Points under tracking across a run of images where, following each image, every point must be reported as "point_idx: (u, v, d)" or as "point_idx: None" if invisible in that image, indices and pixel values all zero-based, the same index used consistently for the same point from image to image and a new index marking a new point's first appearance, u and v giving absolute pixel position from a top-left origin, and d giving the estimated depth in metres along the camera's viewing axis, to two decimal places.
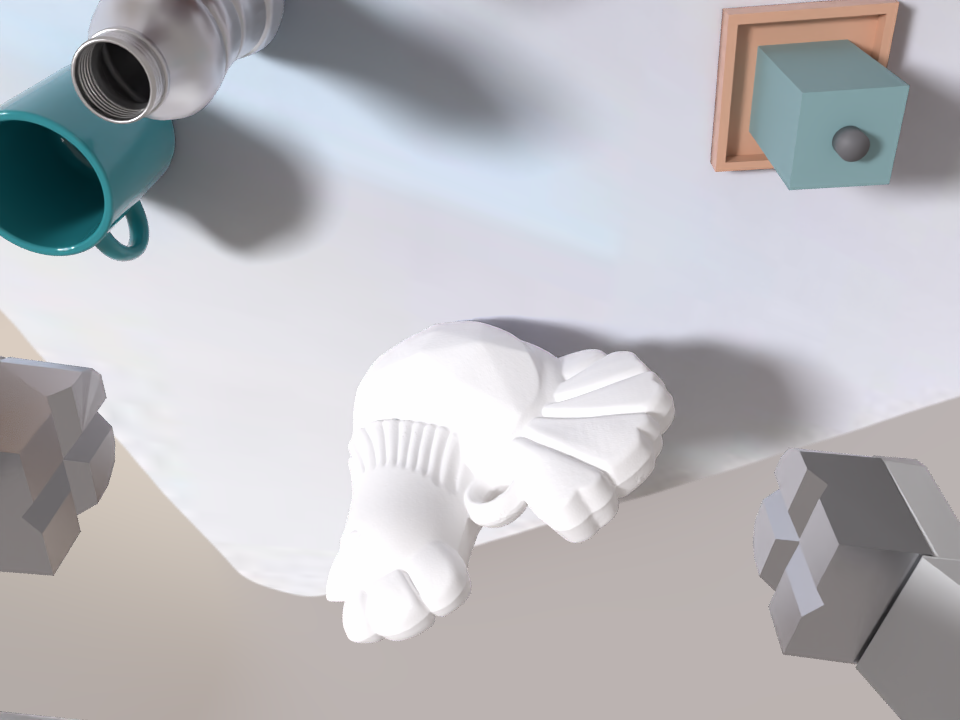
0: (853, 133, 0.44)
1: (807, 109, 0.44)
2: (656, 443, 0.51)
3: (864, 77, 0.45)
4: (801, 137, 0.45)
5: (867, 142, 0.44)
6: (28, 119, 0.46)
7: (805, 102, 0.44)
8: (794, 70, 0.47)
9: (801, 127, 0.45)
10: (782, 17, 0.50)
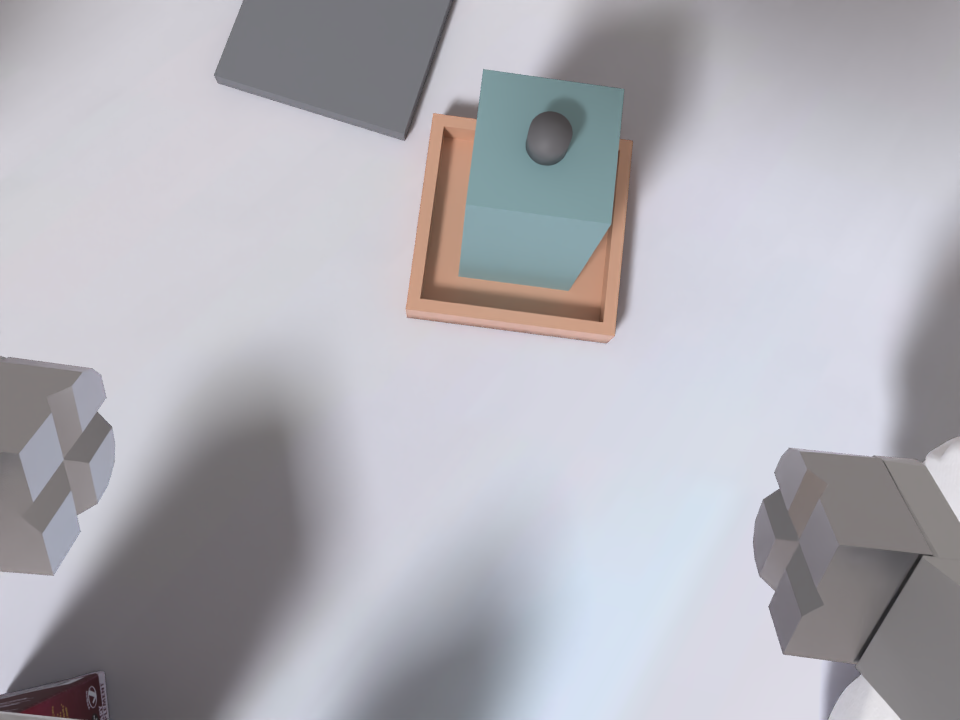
0: (529, 133, 0.30)
1: (491, 198, 0.31)
2: None
3: None
4: (531, 206, 0.31)
5: (546, 114, 0.30)
6: None
7: (480, 200, 0.31)
8: None
9: (516, 206, 0.31)
10: (422, 244, 0.39)
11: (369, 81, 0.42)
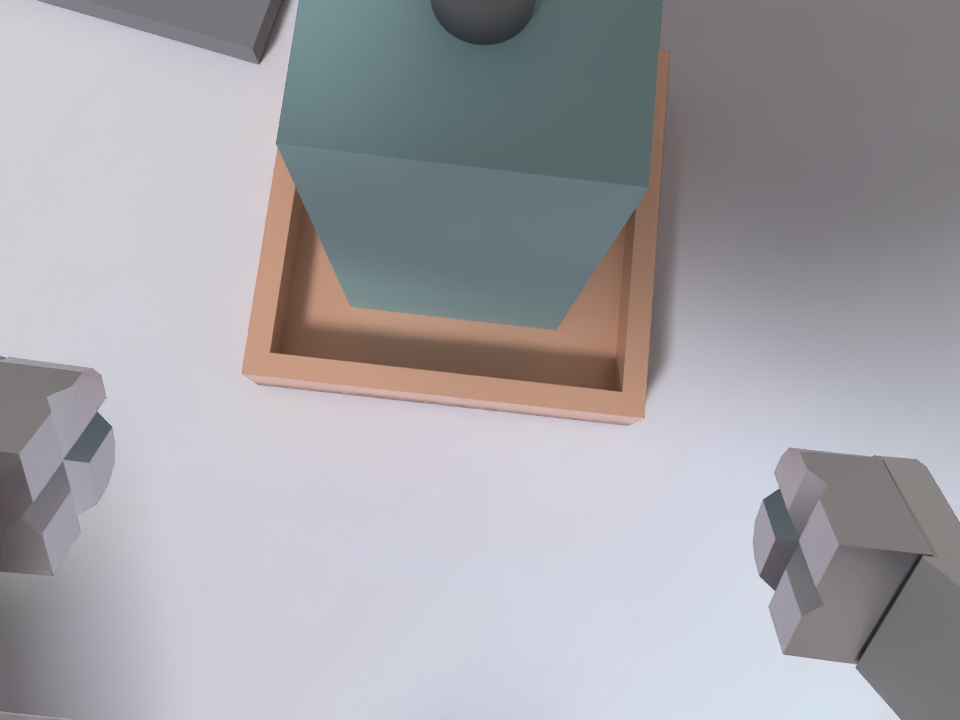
0: None
1: (342, 127, 0.12)
2: None
3: None
4: (446, 146, 0.12)
5: None
6: None
7: (314, 133, 0.12)
8: None
9: (406, 146, 0.12)
10: (275, 249, 0.21)
11: None
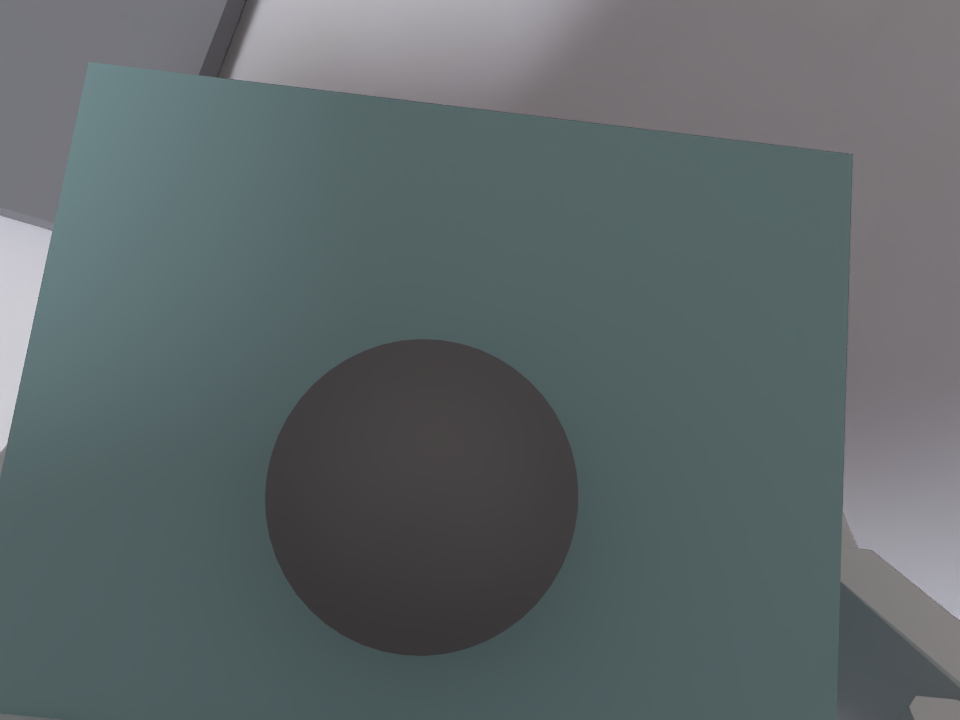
0: (270, 506, 0.04)
1: None
2: None
3: None
4: None
5: (392, 364, 0.04)
6: None
7: None
8: None
9: None
10: None
11: (49, 109, 0.16)
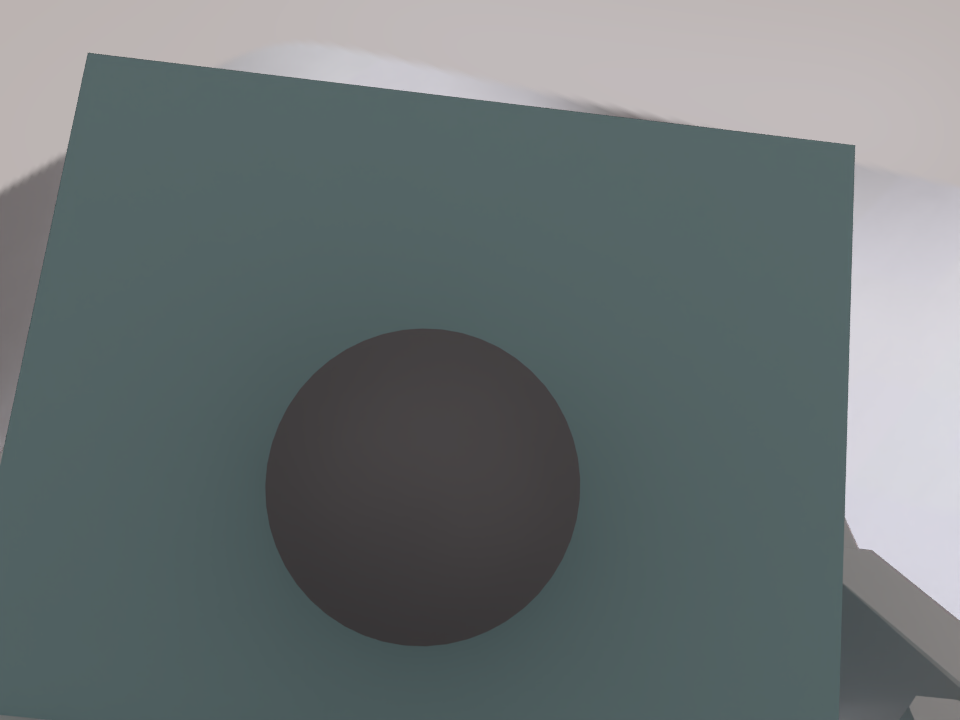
0: (271, 497, 0.04)
1: None
2: None
3: None
4: None
5: (393, 354, 0.04)
6: None
7: None
8: None
9: None
10: None
11: None
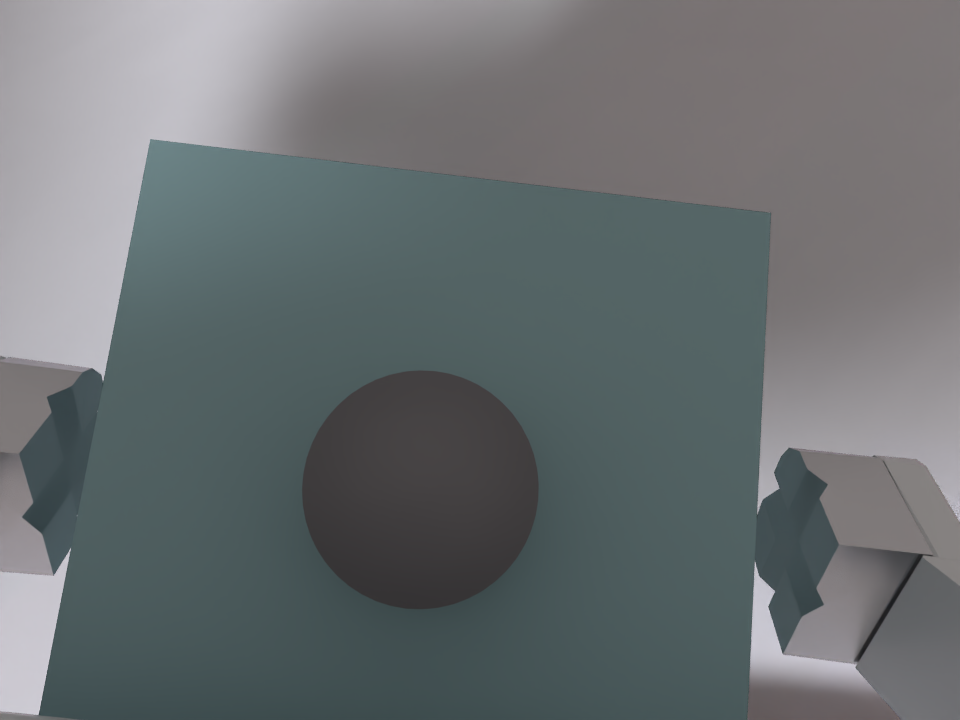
0: (306, 497, 0.06)
1: None
2: None
3: None
4: None
5: (397, 389, 0.06)
6: None
7: None
8: None
9: None
10: None
11: None
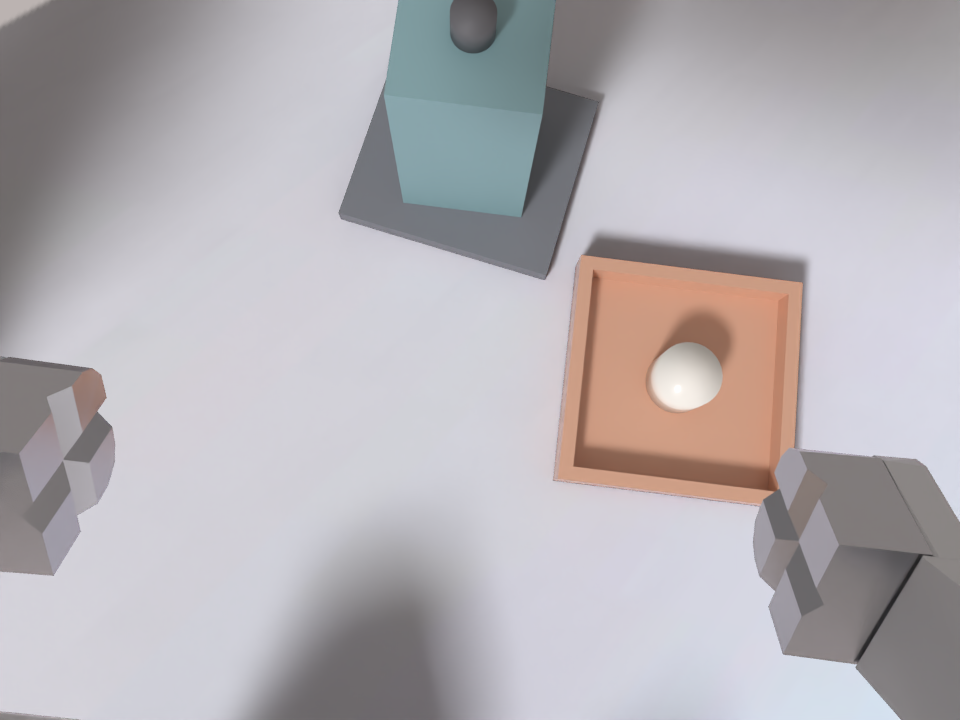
0: (450, 14, 0.28)
1: (411, 88, 0.28)
2: None
3: None
4: (456, 96, 0.28)
5: None
6: None
7: (400, 90, 0.28)
8: None
9: (439, 96, 0.28)
10: (574, 405, 0.36)
11: (507, 217, 0.38)
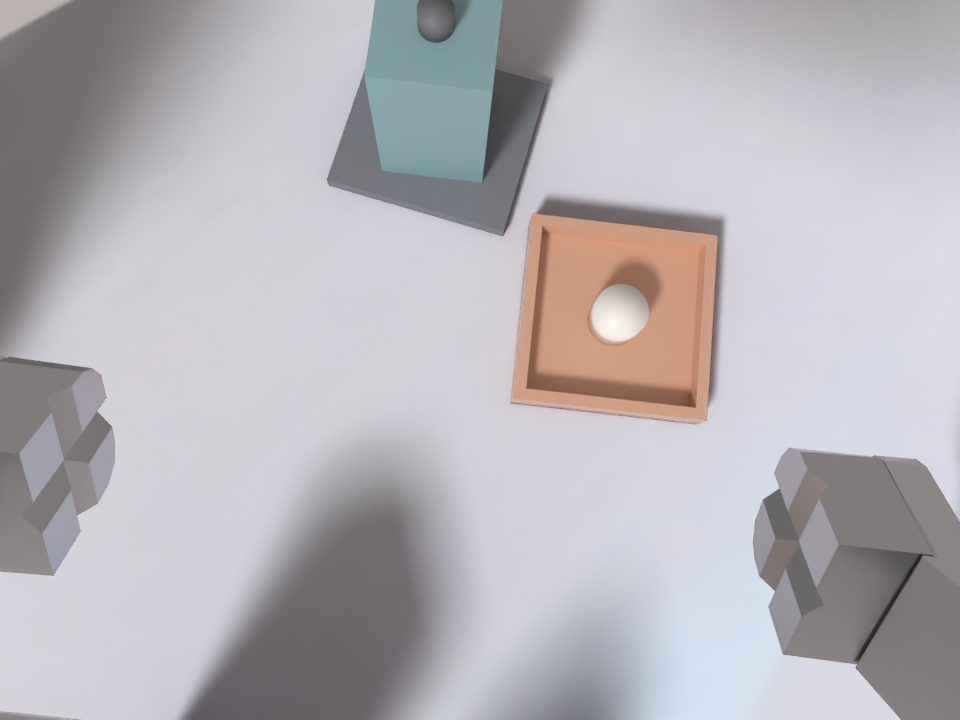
0: (417, 11, 0.34)
1: (387, 71, 0.35)
2: None
3: None
4: (422, 77, 0.35)
5: None
6: None
7: (377, 73, 0.35)
8: None
9: (409, 77, 0.35)
10: (526, 337, 0.43)
11: (470, 182, 0.45)
